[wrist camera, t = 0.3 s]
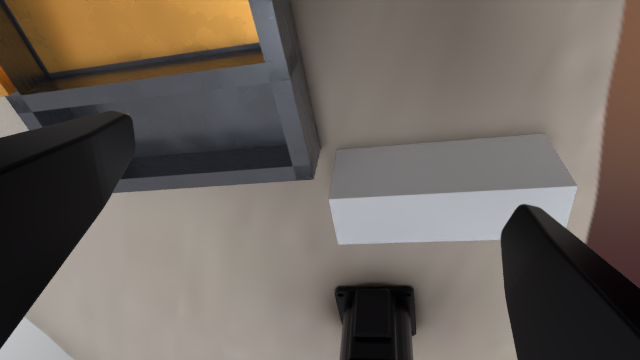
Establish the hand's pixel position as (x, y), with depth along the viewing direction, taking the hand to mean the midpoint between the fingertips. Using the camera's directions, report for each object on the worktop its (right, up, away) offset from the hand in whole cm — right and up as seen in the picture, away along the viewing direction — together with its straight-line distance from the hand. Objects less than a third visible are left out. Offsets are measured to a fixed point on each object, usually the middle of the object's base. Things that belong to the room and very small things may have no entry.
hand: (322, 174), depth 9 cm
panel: (+7, +1, +16) cm, 17 cm away
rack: (-9, +7, +14) cm, 18 cm away
